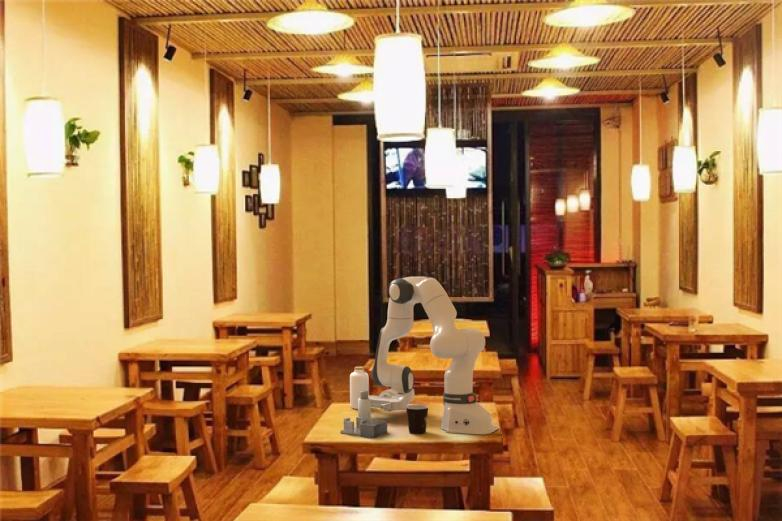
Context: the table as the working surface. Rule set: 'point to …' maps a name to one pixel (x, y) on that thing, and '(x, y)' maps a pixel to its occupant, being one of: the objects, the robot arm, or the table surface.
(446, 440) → the table surface
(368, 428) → the bottle holder
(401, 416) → the table surface
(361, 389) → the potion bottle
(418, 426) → the coffee mug
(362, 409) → the white lotion bottle
